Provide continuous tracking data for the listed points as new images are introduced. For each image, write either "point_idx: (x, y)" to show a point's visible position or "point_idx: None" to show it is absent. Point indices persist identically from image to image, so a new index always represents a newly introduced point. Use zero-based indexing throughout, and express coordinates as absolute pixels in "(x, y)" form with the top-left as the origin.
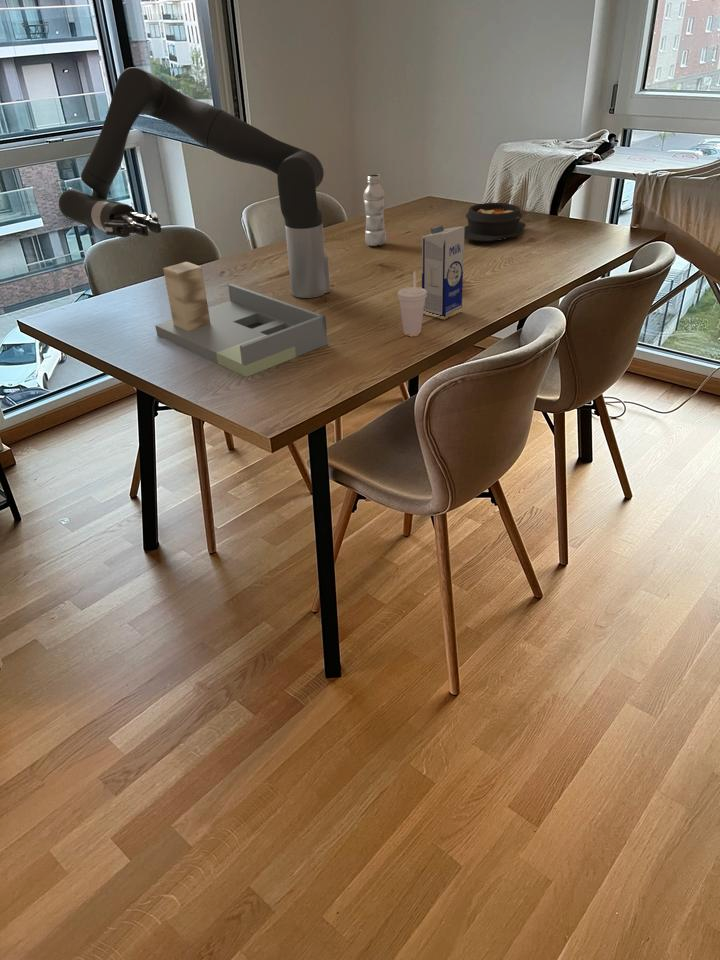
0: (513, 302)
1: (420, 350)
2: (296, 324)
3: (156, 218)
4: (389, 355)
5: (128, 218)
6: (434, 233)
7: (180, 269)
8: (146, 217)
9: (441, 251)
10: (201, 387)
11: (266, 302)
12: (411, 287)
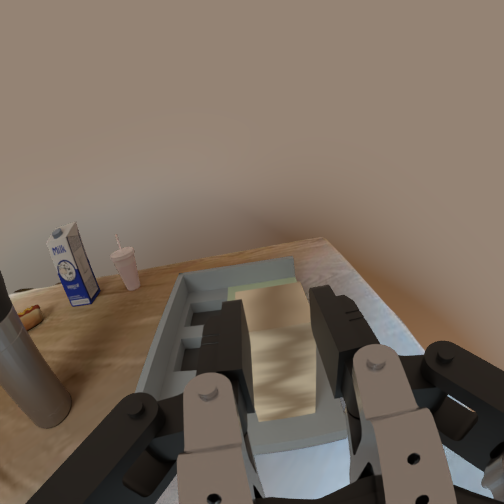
0: (61, 288)
1: (160, 270)
2: (181, 315)
3: (145, 395)
4: (179, 272)
5: (409, 446)
6: (62, 233)
7: (283, 296)
8: (189, 450)
9: (78, 238)
10: (341, 285)
11: (163, 343)
12: (111, 256)
